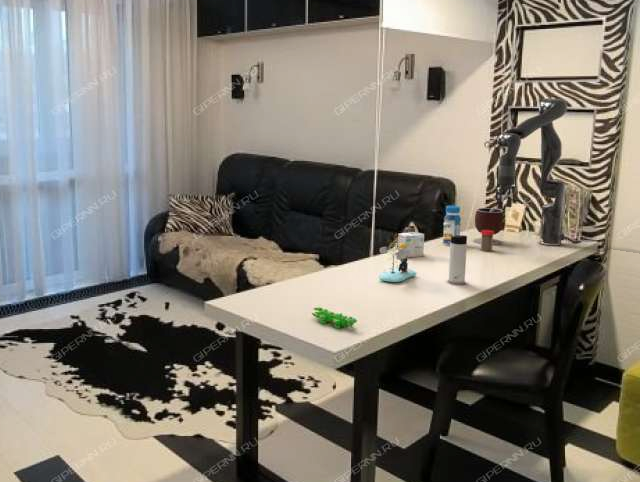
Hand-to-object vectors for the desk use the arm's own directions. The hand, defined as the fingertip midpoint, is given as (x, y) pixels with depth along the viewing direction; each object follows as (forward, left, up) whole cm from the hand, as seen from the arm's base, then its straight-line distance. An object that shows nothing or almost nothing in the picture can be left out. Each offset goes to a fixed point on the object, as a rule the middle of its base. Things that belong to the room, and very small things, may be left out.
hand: (504, 207), depth 293 cm
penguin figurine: (+73, +21, -22) cm, 79 cm away
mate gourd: (-9, -20, -22) cm, 31 cm away
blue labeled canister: (+12, -23, -22) cm, 34 cm away
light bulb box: (+45, -10, -22) cm, 52 cm away
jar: (+4, -6, -22) cm, 23 cm away
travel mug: (+54, +35, -22) cm, 68 cm away
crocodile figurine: (+123, +60, -22) cm, 139 cm away
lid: (+4, -6, -13) cm, 15 cm away
